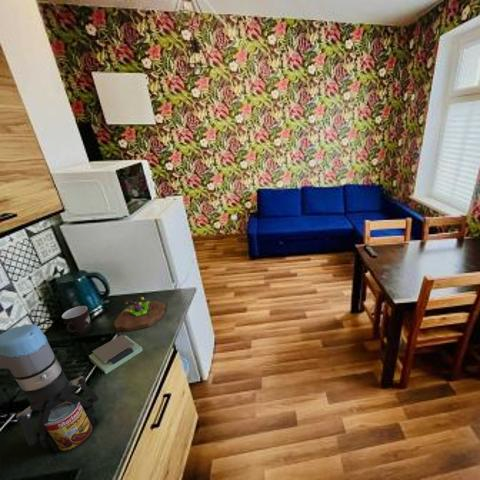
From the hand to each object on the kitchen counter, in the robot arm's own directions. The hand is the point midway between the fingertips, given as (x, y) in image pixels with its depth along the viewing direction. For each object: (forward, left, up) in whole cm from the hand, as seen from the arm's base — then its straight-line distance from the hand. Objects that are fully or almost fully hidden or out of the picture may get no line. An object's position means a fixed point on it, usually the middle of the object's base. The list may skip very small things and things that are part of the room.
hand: (74, 435), depth 77 cm
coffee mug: (-53, +19, -1) cm, 56 cm away
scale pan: (-24, +21, +2) cm, 32 cm away
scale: (-23, +21, -1) cm, 31 cm away
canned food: (0, 0, -1) cm, 1 cm away
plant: (-40, +39, -1) cm, 56 cm away
